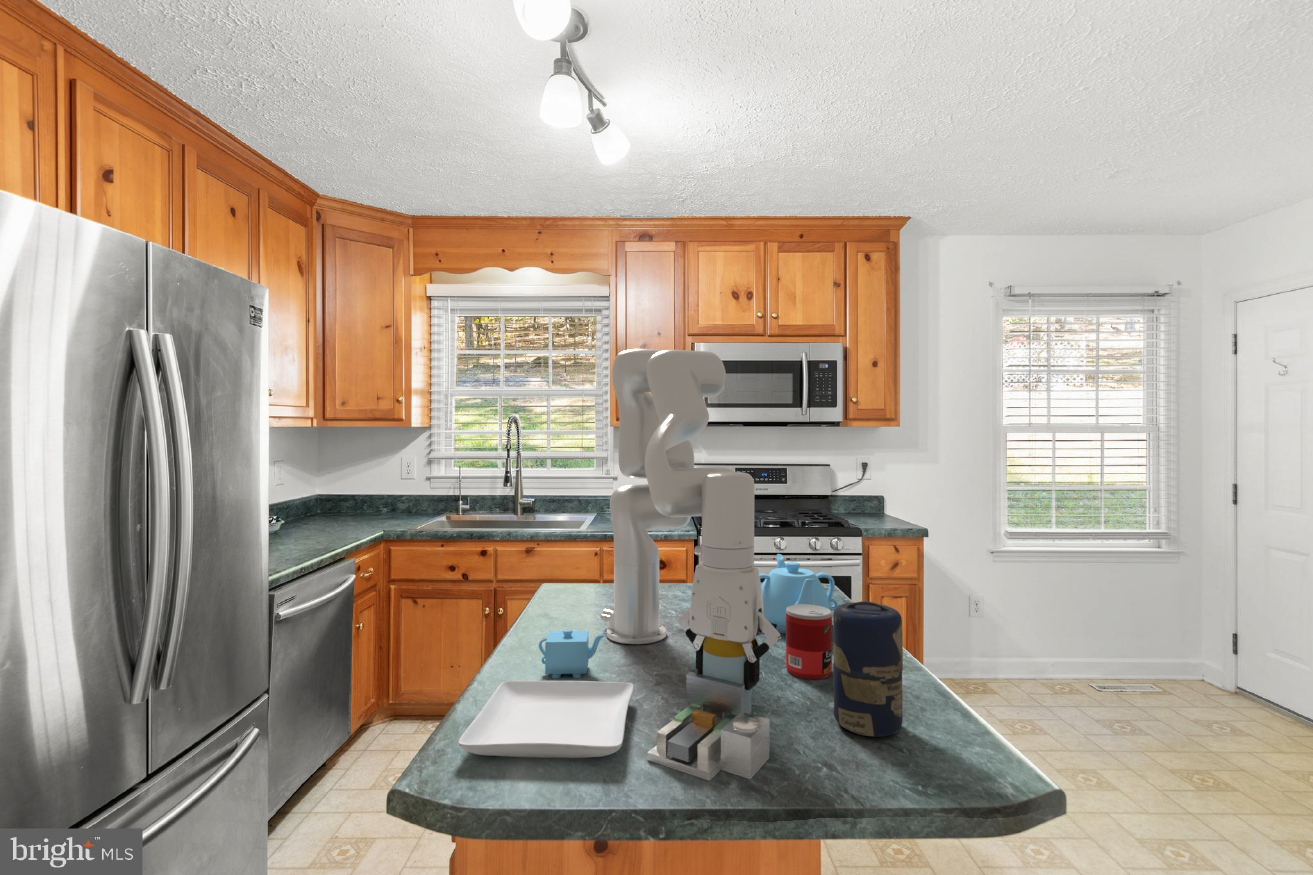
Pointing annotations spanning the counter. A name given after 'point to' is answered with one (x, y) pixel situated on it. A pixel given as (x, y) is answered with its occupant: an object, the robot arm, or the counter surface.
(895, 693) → the canister
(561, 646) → the teapot
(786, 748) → the counter surface
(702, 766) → the gauge body
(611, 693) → the salad plate
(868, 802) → the counter surface
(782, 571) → the teapot
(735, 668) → the bottle
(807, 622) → the canned food
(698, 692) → the grey t-shaped piece
